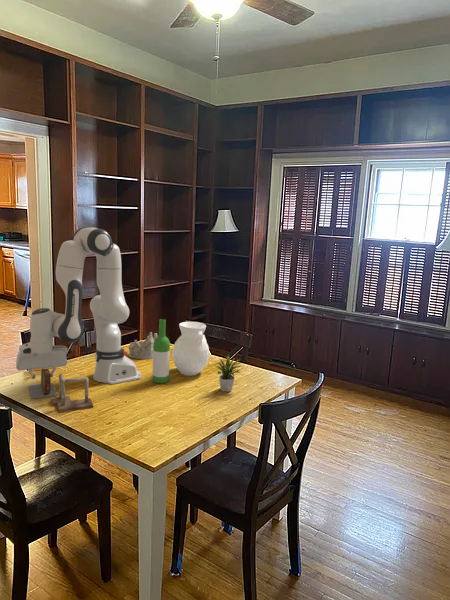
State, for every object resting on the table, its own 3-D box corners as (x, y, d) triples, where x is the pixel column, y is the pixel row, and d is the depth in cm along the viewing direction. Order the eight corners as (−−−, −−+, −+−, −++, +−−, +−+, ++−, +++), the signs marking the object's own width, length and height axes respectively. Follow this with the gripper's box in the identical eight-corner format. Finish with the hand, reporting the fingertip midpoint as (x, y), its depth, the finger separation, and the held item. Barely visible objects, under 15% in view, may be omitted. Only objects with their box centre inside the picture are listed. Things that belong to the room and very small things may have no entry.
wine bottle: (171, 380, 216) (174, 319, 211) (163, 385, 209) (165, 322, 204) (158, 376, 219) (159, 317, 214) (149, 381, 212) (150, 320, 207)
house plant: (225, 399, 197) (228, 364, 194) (203, 390, 206) (205, 356, 203) (246, 391, 208) (249, 357, 204) (224, 382, 217) (226, 350, 214)
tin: (40, 384, 201) (40, 366, 199) (48, 383, 202) (47, 365, 201) (44, 396, 188) (43, 377, 186) (52, 395, 189) (51, 376, 187)
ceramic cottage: (164, 353, 257) (163, 327, 254) (150, 362, 242) (148, 335, 239) (141, 350, 263) (139, 325, 260) (125, 359, 248) (123, 332, 245)
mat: (53, 384, 203) (53, 383, 203) (56, 396, 191) (56, 394, 191) (28, 386, 198) (28, 385, 198) (31, 399, 186) (31, 397, 186)
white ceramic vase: (215, 375, 226) (217, 327, 222) (183, 381, 216) (185, 330, 211) (196, 364, 241) (198, 318, 237) (165, 369, 231) (166, 321, 226)
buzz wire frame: (87, 396, 192) (87, 369, 190) (93, 407, 182) (93, 379, 179) (51, 400, 186) (51, 373, 183) (55, 412, 175) (54, 383, 173)
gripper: (66, 342, 198) (66, 372, 201) (15, 346, 189) (16, 377, 192) (68, 346, 193) (68, 377, 195) (15, 350, 184) (16, 382, 186)
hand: (42, 377), depth 193 cm, fingers open, 6 cm apart
